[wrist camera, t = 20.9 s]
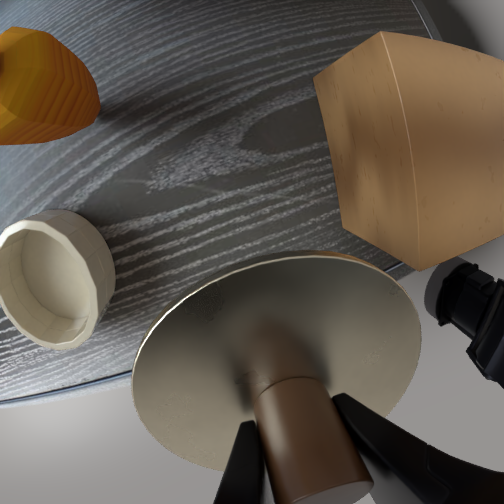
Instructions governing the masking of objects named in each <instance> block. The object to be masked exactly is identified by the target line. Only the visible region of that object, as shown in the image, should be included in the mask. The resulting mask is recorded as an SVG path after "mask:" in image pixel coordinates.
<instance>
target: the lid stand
mask: <svg viewBox="0 0 504 504" xmlns="http://www.w3.org/2000/svg"><path fill="white" fill-rule="evenodd" d="M313 82H314V86H315V90H316V93H317V97H318V101H319V105H320V110H321V114H322V118H323V122H324V127H325V131H326V136H327V140H328V145H329V150H330V155H331V160H332V165H333V171H334V176H335V182H336V188H337V194H338V200H339V206H340V213H341V220H342V227H343V228H344V229H346V230H347V231H349V232H351V233H353V234H355V235H357V236H358V237H360V238H362V239H364V240H366V241H367V242H369V243H371V244H373V245H374V246H376V247H378V248H380V249H381V250H383V251H385V252H387V253H388V254H390V255H392V256H393V257H395V258H397V259H399V260H400V261H402V262H404V263H405V264H407V265H409V266H410V267H412V268H414V269H415V270H417V271H419V272H420V271H422V270H425V269H427V268H430V267H432V266H435V265H437V264H440V263H442V262H444V261H447V260H449V259H451V258H454V257H456V256H458V255H461V254H463V253H465V252H467V251H470V250H472V249H474V248H476V247H479V246H481V245H483V244H485V243H487V242H489V241H492V240H494V239H496V238H498V237H500V236H502V235H504V61H502V60H499V59H497V58H494V57H491V56H488V55H486V54H483V53H480V52H477V51H473V50H470V49H467V48H464V47H460V46H456V45H452V44H449V43H445V42H441V41H436V40H432V39H427V38H422V37H417V36H411V35H405V34H399V33H391V32H383V31H380V32H378V33H377V34H375V35H374V36H372V37H371V38H369V39H367V40H366V41H364V42H363V43H361V44H360V45H358V46H357V47H355V48H354V49H353V50H351V51H350V52H348V53H347V54H345V55H344V56H342V57H341V58H340V59H338V60H337V61H335V62H334V63H333V64H331V65H330V66H328V67H327V68H326V69H324V70H323V71H322V72H320V73H319V74H318V75H316V76H315V77H314V78H313Z"/></svg>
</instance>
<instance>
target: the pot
mask: <svg viewBox="0 0 504 504" xmlns="http://www.w3.org/2000/svg"><path fill="white" fill-rule="evenodd" d="M115 282H116V275H115V267H114V262H113V258H112V255H111V252H110V250H109V248H108V245H107V244H106V242H105V240H104V238H103V237H102V236H101V234H100V233H99V231H98V230H97V229H96V228H95V227H94V226H93V225H92V224H91V223H90V222H89V221H88V220H86V219H85V218H83V217H82V216H80V215H78V214H76V213H74V212H71V211H68V210H63V209H53V210H51V209H49V210H46V211H43V212H40V213H38V214H35V215H32V216H30V217H27V218H25V219H22V220H20V221H18V222H16V223H14V224H12V225H10V226H8V227H7V228H6V229H5V230H4V231H3V233H2V234H1V236H0V304H1V306H2V308H3V310H4V313H5V314H6V316H7V317H8V318H9V319H10V321H11V322H12V323H13V324H14V325H15V327H16V328H17V329H18V330H19V331H20V332H21V333H22V334H23V335H25V336H26V337H28V338H29V339H31V340H32V341H34V342H35V343H37V344H38V345H40V346H44V347H47V348H51V349H54V350H59V351H60V350H66V349H72V348H77V347H79V346H80V345H81V344H82V343H84V342H85V341H86V340H87V339H88V338H90V337H91V336H92V334H93V332H94V331H95V329H96V327H97V326H98V324H99V322H100V321H101V319H102V317H103V316H104V314H105V312H106V311H107V309H108V306H109V304H110V302H111V300H112V297H113V294H114V290H115Z"/></svg>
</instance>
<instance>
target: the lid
mask: <svg viewBox="0 0 504 504" xmlns="http://www.w3.org/2000/svg"><path fill="white" fill-rule="evenodd" d="M420 350H421V325H420V321H419V317H418V313H417V311H416V309H415V306H414V304H413V302H412V300H411V298H410V297H409V295H408V294H407V292H406V291H405V290H404V288H403V287H402V286H401V285H400V284H399V283H398V282H397V281H395V280H394V279H393V278H392V277H391V276H390V275H388V274H387V273H385V272H384V271H382V270H380V269H379V268H377V267H376V266H374V265H372V264H371V263H369V262H366V261H364V260H361V259H359V258H356V257H354V256H350V255H346V254H341V253H336V252H332V251H318V250H297V251H283V252H278V253H272V254H267V255H262V256H257V257H254V258H251V259H248V260H245V261H242V262H238V263H235V264H232V265H230V266H228V267H226V268H223V269H221V270H219V271H217V272H215V273H213V274H210V275H208V276H206V277H205V278H203V279H202V280H200V281H199V282H197V283H195V284H194V285H192V286H191V287H189V288H187V289H186V290H185V291H183V292H182V293H181V294H180V295H179V296H177V297H176V298H175V299H174V300H173V301H172V302H170V303H169V304H168V305H167V306H166V307H165V308H164V309H163V311H162V312H161V313H160V314H159V315H158V316H157V317H156V318H155V320H154V321H153V322H152V324H151V325H150V327H149V329H148V330H147V332H146V333H145V335H144V337H143V339H142V341H141V344H140V346H139V349H138V351H137V354H136V357H135V360H134V365H133V370H132V375H131V391H132V397H133V402H134V406H135V408H136V411H137V413H138V416H139V418H140V420H141V421H142V423H143V424H144V426H145V427H146V429H147V430H148V431H149V433H150V434H151V435H152V436H153V437H154V438H155V439H156V440H157V441H158V442H159V443H160V444H161V445H163V446H164V447H165V448H166V449H168V450H169V451H171V452H173V453H174V454H176V455H177V456H179V457H181V458H183V459H185V460H187V461H189V462H192V463H194V464H197V465H200V466H203V467H206V468H210V469H214V470H218V471H225V468H226V465H227V462H228V459H229V456H230V453H231V450H232V447H233V444H234V441H235V438H236V435H237V432H238V429H239V426H240V423H241V422H244V421H248V420H254V421H255V423H256V426H257V430H258V434H259V439H260V443H261V448H262V452H263V456H264V461H265V465H266V469H267V474H268V478H269V482H270V486H271V491H272V495H273V499H274V503H275V504H353V503H355V502H357V501H358V500H360V499H361V498H362V497H364V496H365V495H366V494H368V493H369V492H370V491H371V489H372V488H373V486H374V480H373V479H372V477H371V475H370V473H369V471H368V469H367V467H366V465H365V463H364V461H363V459H362V457H361V455H360V453H359V451H358V449H357V447H356V445H355V443H354V441H353V439H352V437H351V435H350V433H349V431H348V430H347V428H346V426H345V424H344V422H343V420H342V418H341V416H340V414H339V412H338V410H337V408H336V406H335V404H334V402H333V400H332V397H333V396H334V395H337V394H340V393H346V394H348V395H349V396H351V397H352V398H354V399H356V400H357V401H359V402H360V403H362V404H363V405H365V406H366V407H368V408H369V409H371V410H373V411H374V412H376V413H377V414H379V415H381V416H382V417H384V418H385V417H386V416H387V415H388V414H389V413H390V412H391V410H392V409H393V408H394V407H395V406H396V404H397V403H398V402H399V400H400V399H401V397H402V396H403V394H404V393H405V391H406V389H407V387H408V386H409V384H410V382H411V380H412V377H413V375H414V372H415V370H416V367H417V364H418V360H419V356H420Z"/></svg>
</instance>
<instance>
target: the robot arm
mask: <svg viewBox="0 0 504 504" xmlns="http://www.w3.org/2000/svg"><path fill="white" fill-rule="evenodd" d="M448 323H452V324H453V325H454V326H455V327H457V328H458V329H459V330H461V331H462V332H463V333H464V334H465V335H467V336H468V337H469V338H470V339H472V342H471V344H470V346H469V347H468V348H467V350H466V353H467V354H468V355H469V357H470V359H471V360H472V361H473V363H474V364H475V365H476V367H477V368H478V369H479V371H480V372H481V373H482V375H483V376H484V377H485V378H486V379H487V380H492V381H494V382H498V383H499V384H500V386H501V387H502V388H503V389H504V280H502V279H499V278H498V281H497V282H495V281H494V278H493V276H491V275H489V274H487V273H485V272H483V271H481V270H479V265H478V264H476V263H474V264H472V265H470V266H468V267H466V268H464V269H462V270H459V271H458V272H456V273H453V274H451V275H449V276H447V277H445V278H444V279H443V281H442V292H441V303H440V312H439V320H438V325H439V326H440V327H442V326H444V325H446V324H448ZM332 400H333V402H334V404H335V406H336V408H337V410H338V412H339V414H340V416H341V418H342V420H343V422H344V424H345V426H346V428H347V430H348V431H349V433H350V435H351V437H352V439H353V441H354V443H355V445H356V447H357V449H358V451H359V453H360V455H361V457H362V459H363V461H364V463H365V465H366V467H367V469H368V471H369V473H370V475H371V477H372V479H373V480H374V486H373V488H372V489H371V491H370V492H369V493H370V494H371V496H372V498H373V500H374V501H375V503H376V504H504V472H497V471H493V470H490V469H487V468H483V467H480V466H477V465H474V464H471V463H469V462H466V461H463V460H460V459H458V458H455V457H453V456H450V455H448V454H446V453H444V452H442V451H440V450H438V449H436V448H435V447H433V446H431V445H427V443H426V442H424V441H422V440H420V439H419V438H417V437H415V436H413V435H412V434H410V433H409V432H407V431H405V430H404V429H402V428H400V427H399V426H397V425H395V424H394V423H392V422H390V421H389V420H387V419H385V418H384V417H382V416H381V415H379V414H377V413H376V412H374V411H373V410H371V409H369V408H368V407H366V406H365V405H363V404H362V403H360V402H359V401H357V400H356V399H354V398H352V397H351V396H349V395H348V394H346V393H340V394H337V395H334V396H333V397H332ZM213 504H275V503H274V499H273V495H272V491H271V486H270V482H269V478H268V474H267V469H266V465H265V461H264V456H263V452H262V448H261V443H260V439H259V434H258V430H257V426H256V423H255V421H254V420H248V421H244V422H241V423H240V426H239V429H238V432H237V435H236V438H235V441H234V444H233V447H232V450H231V453H230V456H229V459H228V462H227V465H226V468H225V471H224V474H223V477H222V480H221V483H220V486H219V488H218V491H217V494H216V497H215V500H214V503H213Z"/></svg>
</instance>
